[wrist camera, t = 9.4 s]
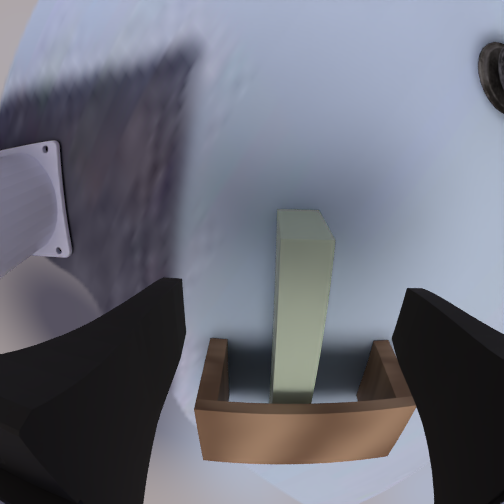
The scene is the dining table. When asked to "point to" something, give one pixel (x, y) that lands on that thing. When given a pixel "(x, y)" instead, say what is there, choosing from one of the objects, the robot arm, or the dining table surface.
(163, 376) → the robot arm
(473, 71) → the dining table surface
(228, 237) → the dining table surface
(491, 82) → the salt shaker
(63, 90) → the dining table surface
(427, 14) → the dining table surface
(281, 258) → the bar
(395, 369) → the wooden bridge block
